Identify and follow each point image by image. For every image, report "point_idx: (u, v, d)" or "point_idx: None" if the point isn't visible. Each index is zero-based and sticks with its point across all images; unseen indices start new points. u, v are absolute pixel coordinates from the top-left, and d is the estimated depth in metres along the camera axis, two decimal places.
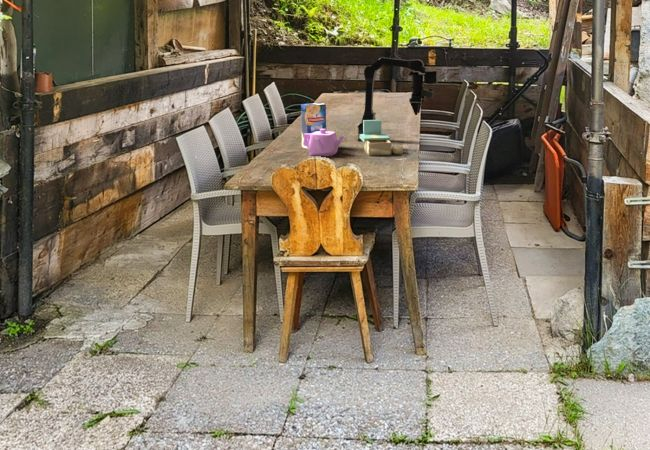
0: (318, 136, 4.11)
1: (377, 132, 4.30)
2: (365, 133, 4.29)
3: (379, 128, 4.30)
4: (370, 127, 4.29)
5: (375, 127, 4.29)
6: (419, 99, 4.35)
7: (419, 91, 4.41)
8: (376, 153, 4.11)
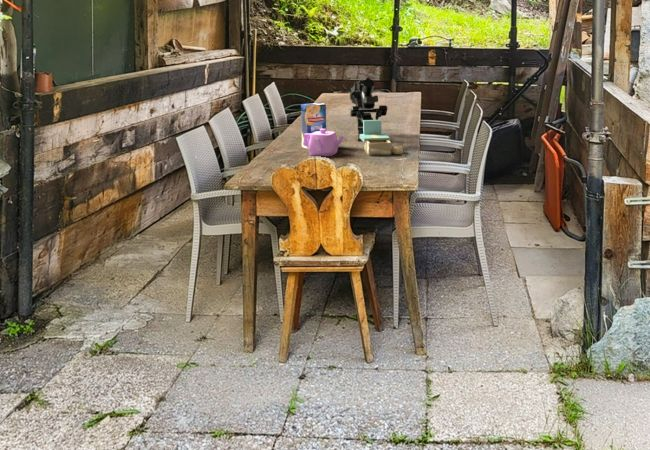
0: (318, 136, 4.11)
1: (377, 132, 4.30)
2: (365, 133, 4.29)
3: (379, 128, 4.30)
4: (370, 127, 4.29)
5: (375, 127, 4.29)
6: (351, 108, 4.36)
7: None
8: (376, 153, 4.11)
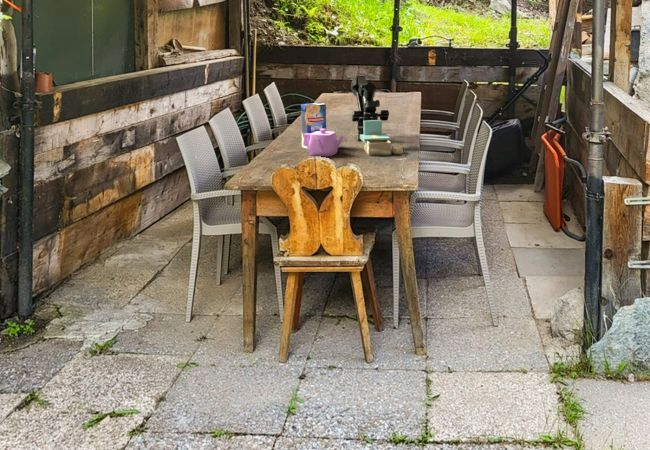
0: (318, 136, 4.11)
1: (377, 132, 4.29)
2: (365, 133, 4.28)
3: (379, 128, 4.29)
4: (371, 128, 4.28)
5: (375, 127, 4.28)
6: (352, 113, 4.32)
7: (365, 108, 4.35)
8: (376, 153, 4.11)
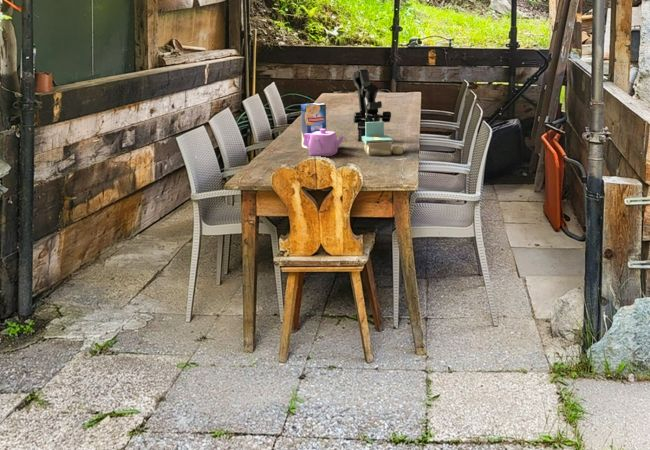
0: (318, 136, 4.11)
1: (379, 134, 4.24)
2: (367, 135, 4.23)
3: (381, 130, 4.23)
4: (373, 129, 4.23)
5: (377, 129, 4.23)
6: (354, 114, 4.26)
7: None
8: (376, 153, 4.11)
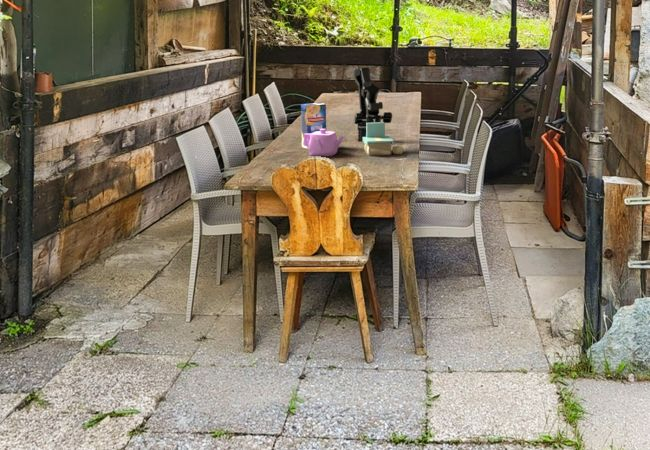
0: (318, 136, 4.11)
1: (380, 135, 4.21)
2: (368, 136, 4.20)
3: (382, 131, 4.20)
4: (374, 130, 4.20)
5: (378, 130, 4.20)
6: (355, 115, 4.24)
7: None
8: (376, 153, 4.11)
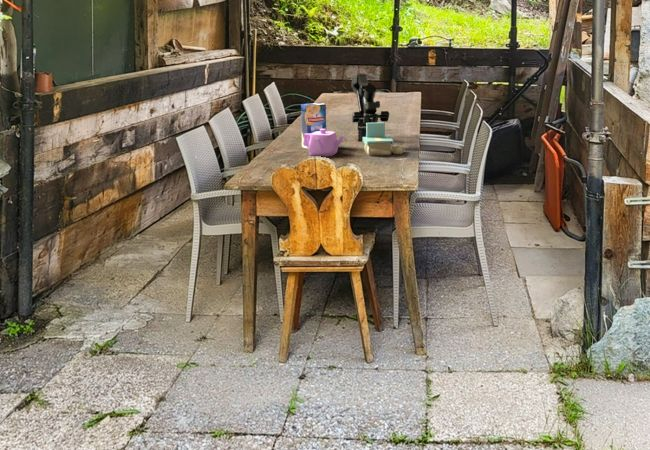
0: (318, 136, 4.11)
1: (380, 135, 4.21)
2: (368, 136, 4.20)
3: (382, 131, 4.20)
4: (374, 130, 4.20)
5: (378, 130, 4.20)
6: (353, 114, 4.31)
7: (365, 109, 4.34)
8: (376, 153, 4.11)
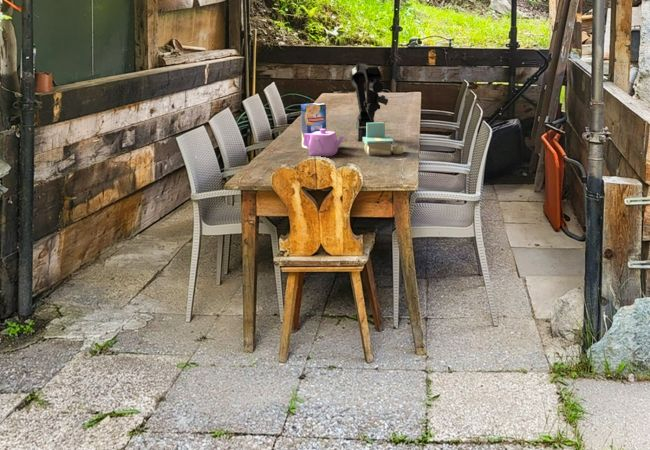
0: (318, 136, 4.11)
1: (380, 135, 4.21)
2: (368, 136, 4.20)
3: (382, 131, 4.20)
4: (374, 130, 4.20)
5: (378, 130, 4.20)
6: (378, 106, 4.30)
7: (375, 98, 4.36)
8: (376, 153, 4.11)
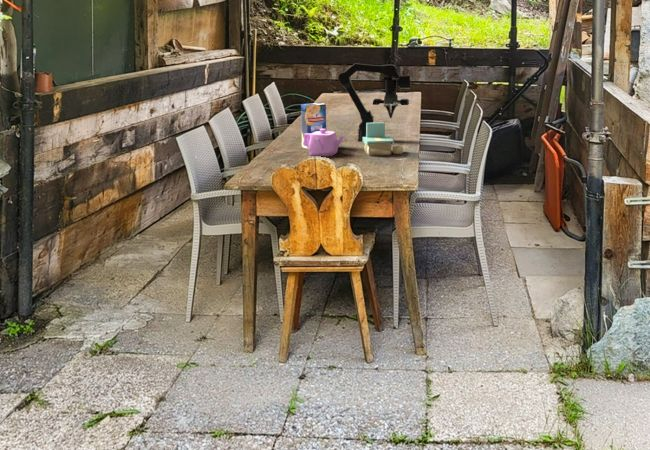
0: (318, 136, 4.11)
1: (380, 135, 4.21)
2: (368, 136, 4.20)
3: (382, 131, 4.20)
4: (374, 130, 4.20)
5: (378, 130, 4.20)
6: (373, 102, 4.50)
7: None
8: (376, 153, 4.11)
